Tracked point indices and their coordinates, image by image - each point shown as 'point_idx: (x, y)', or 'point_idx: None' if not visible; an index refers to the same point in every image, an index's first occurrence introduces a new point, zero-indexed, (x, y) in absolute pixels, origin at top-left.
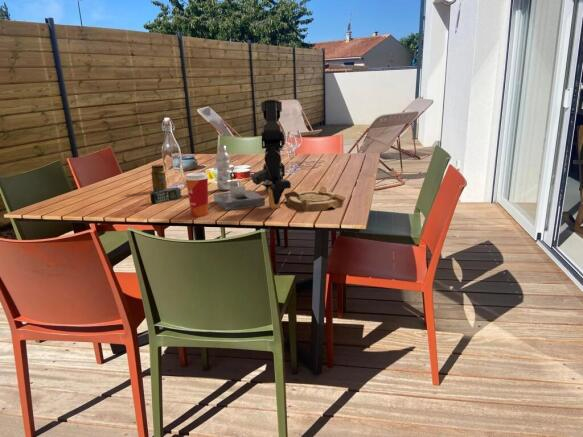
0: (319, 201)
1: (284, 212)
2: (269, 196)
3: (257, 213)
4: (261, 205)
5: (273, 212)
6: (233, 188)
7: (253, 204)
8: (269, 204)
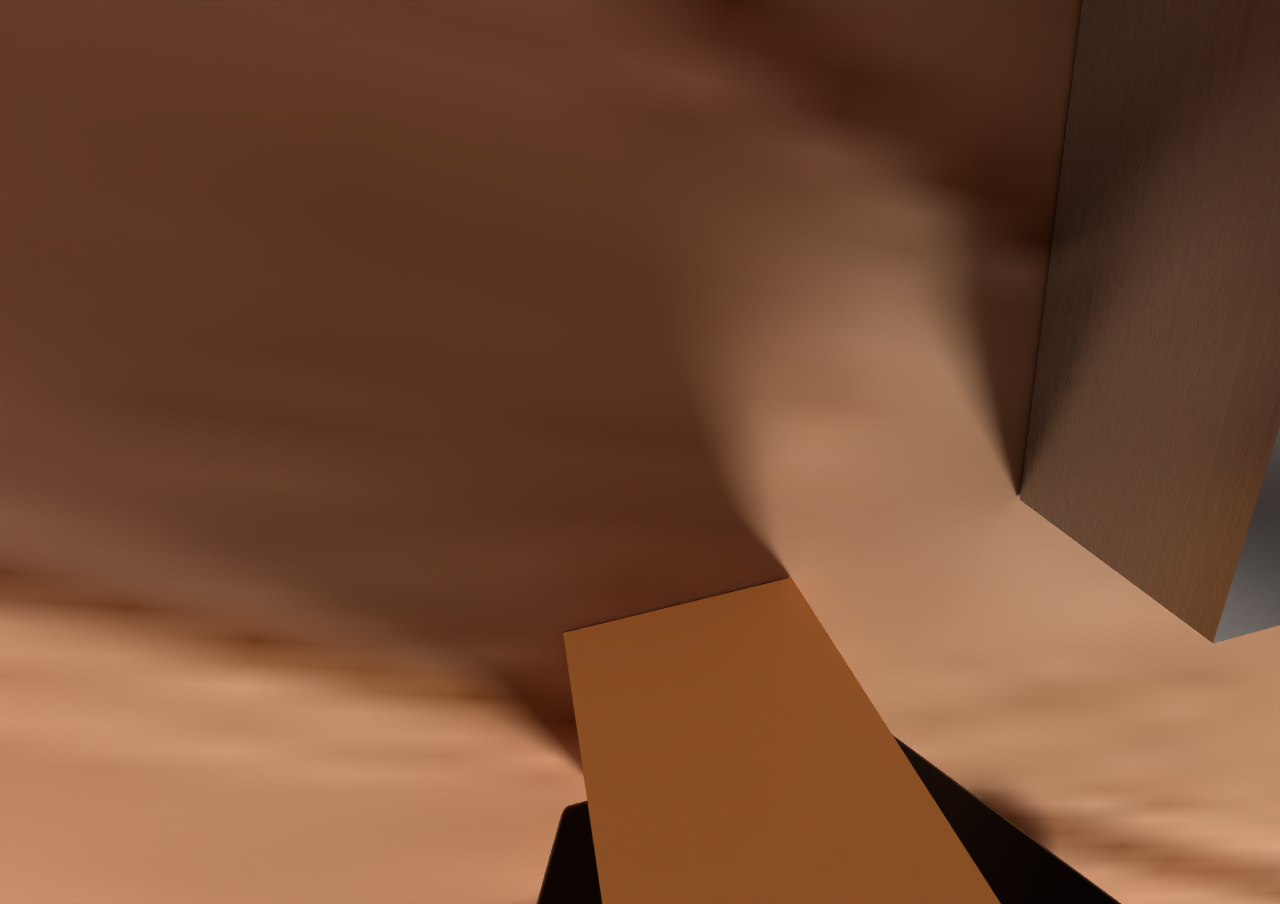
0: None
1: (95, 864)
2: (906, 901)
3: (2, 58)
4: (1033, 405)
5: (124, 631)
6: None
7: (1130, 136)
8: (789, 637)
